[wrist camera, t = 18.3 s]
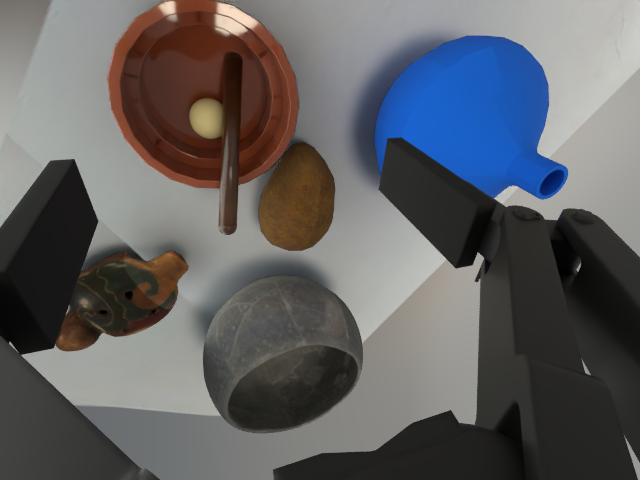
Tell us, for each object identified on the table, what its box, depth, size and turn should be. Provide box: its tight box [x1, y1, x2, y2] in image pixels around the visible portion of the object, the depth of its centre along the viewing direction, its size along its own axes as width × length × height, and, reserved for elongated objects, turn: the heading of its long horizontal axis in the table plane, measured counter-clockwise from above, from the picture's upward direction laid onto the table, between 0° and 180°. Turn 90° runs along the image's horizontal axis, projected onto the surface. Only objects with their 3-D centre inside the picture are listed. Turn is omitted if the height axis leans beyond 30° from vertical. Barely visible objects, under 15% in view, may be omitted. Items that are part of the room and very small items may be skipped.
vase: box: [374, 36, 568, 199], centre depth 35 cm, size 18×18×19 cm
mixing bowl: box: [107, 0, 299, 188], centre depth 31 cm, size 15×15×6 cm
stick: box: [219, 51, 243, 235], centre depth 31 cm, size 2×2×17 cm
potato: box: [259, 142, 335, 251], centre depth 39 cm, size 8×12×9 cm
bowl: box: [203, 275, 363, 433], centre depth 46 cm, size 20×20×15 cm
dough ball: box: [189, 98, 223, 139], centre depth 32 cm, size 4×4×4 cm
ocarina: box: [56, 251, 188, 351], centre depth 39 cm, size 10×15×8 cm, turn 118°
